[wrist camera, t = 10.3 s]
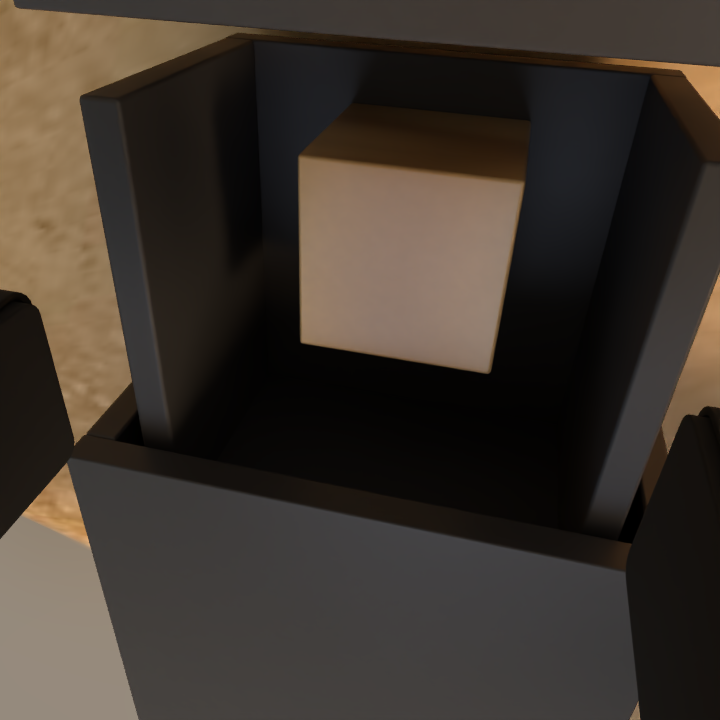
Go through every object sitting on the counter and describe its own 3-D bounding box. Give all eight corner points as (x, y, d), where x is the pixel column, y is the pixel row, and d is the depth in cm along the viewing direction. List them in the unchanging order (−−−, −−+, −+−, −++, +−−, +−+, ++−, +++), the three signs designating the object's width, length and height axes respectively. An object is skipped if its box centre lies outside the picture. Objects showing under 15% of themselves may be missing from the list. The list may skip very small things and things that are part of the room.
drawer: (189, -332, 14) (-108, -529, 8) (840, -340, 12) (1165, -620, 6) (240, 367, 24) (130, 530, 18) (598, 430, 22) (618, 639, 16)
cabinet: (228, 271, 23) (64, 455, 15) (642, 333, 21) (698, 586, 13) (250, 554, 31) (151, 766, 23) (548, 620, 29) (548, 880, 21)
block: (345, 263, 20) (299, 344, 16) (350, 101, 17) (295, 154, 13) (502, 285, 19) (490, 376, 15) (531, 120, 16) (526, 181, 13)
